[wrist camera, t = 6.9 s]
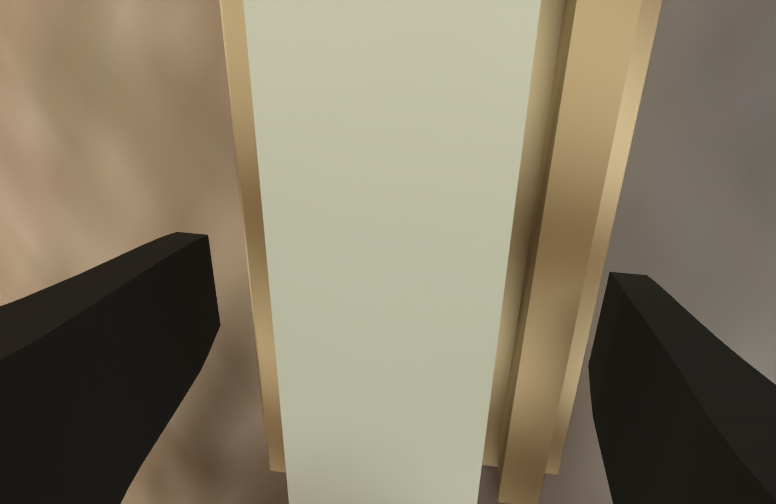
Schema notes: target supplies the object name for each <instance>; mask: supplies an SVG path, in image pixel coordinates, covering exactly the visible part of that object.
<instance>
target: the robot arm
mask: <svg viewBox="0 0 776 504" xmlns="http://www.w3.org/2000/svg"><path fill="white" fill-rule="evenodd" d="M219 327H220V319H219V312H218V305H217V297H216V290H215V283H214V275H213V268H212V261H211V254H210V246H209V239H208V235H204V234H193V233H182V232H175V233H172V234H169V235H166V236H163V237H161V238H158V239H156V240H154V241H151V242H149V243H147V244H144V245H142V246H140V247H138V248H135V249H133V250H131V251H129V252H127V253H124V254H122V255H120V256H118V257H116V258H114V259H111V260H109V261H107V262H105V263H103V264H100V265H98V266H96V267H94V268H92V269H90V270H87V271H85V272H83V273H81V274H79V275H76V276H74V277H72V278H69V279H67V280H64V281H62V282H60V283H57V284H55V285H53V286H50V287H48V288H45V289H43V290H41V291H38V292H36V293H34V294H31V295H29V296H26V297H24V298H21V299H19V300H16V301H14V302H11V303H8V304H6V305H3V306H0V504H121V502H122V500H123V498H124V496H125V494H126V491H127V490H128V488H129V486H130V484H131V482H132V481H133V479H134V477H135V475H136V474H137V472H138V470H139V468H140V467H141V465H142V463H143V462H144V460H145V459H146V457H147V455H148V454H149V452H150V451H151V449H152V448H153V446H154V444H155V443H156V441H157V440H158V438H159V437H160V435H161V433H162V432H163V430H164V429H165V427H166V425H167V424H168V422H169V421H170V419H171V418H172V416H173V414H174V413H175V411H176V410H177V408H178V406H179V405H180V403H181V402H182V400H183V398H184V397H185V395H186V394H187V392H188V390H189V389H190V387H191V385H192V384H193V382H194V381H195V379H196V377H197V376H198V374H199V372H200V371H201V369H202V367H203V364H204V362H205V360H206V358H207V356H208V354H209V351H210V349H211V347H212V344H213V342H214V339H215V337H216V335H217V332H218V330H219ZM588 367H589V379H590V392H591V402H592V412H593V419H594V423H595V428H596V432H597V437H598V441H599V445H600V450H601V454H602V458H603V462H604V467H605V471H606V475H607V479H608V483H609V488H610V492H611V496H612V500H613V504H776V385H775V384H774V383H773V382H771V381H770V380H769V379H768V378H766V377H765V376H764V375H762V374H761V373H760V372H759V371H757V370H756V369H755V368H753V367H752V366H751V365H750V364H748V363H747V362H746V361H744V360H743V359H742V358H741V357H740V356H738V355H737V354H736V353H735V352H734V351H732V350H731V349H730V348H729V347H728V346H726V345H725V344H724V343H723V342H722V341H721V340H719V339H718V338H717V337H716V336H715V335H714V334H713V333H711V332H710V331H709V330H708V329H707V328H706V327H705V326H703V325H702V324H701V323H700V322H699V321H698V320H697V319H696V318H695V317H693V316H692V315H691V314H690V313H689V312H688V311H687V310H686V309H685V308H684V307H683V306H681V305H680V304H679V303H678V302H677V301H676V300H675V299H674V298H673V297H672V296H670V295H669V294H668V293H667V292H666V291H665V290H664V289H663V288H662V287H661V286H659V285H658V284H657V283H656V282H655V281H654V280H652V279H651V278H650V277H648V276H647V275H638V274H627V273H616V272H610V273H609V277H608V282H607V286H606V291H605V295H604V299H603V304H602V308H601V313H600V317H599V321H598V326H597V330H596V335H595V339H594V343H593V348H592V352H591V357H590V361H589V365H588Z"/></svg>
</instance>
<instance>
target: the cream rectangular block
mask: <svg viewBox="0 0 776 504" xmlns="http://www.w3.org/2000/svg"><path fill="white" fill-rule="evenodd" d="M243 4H244V15H245V26H246V37H247V48H248V59H249V70H250V80H251V91H252V102H253V113H254V124H255V135H256V146H257V157H258V168H259V179H260V190H261V201H262V212H263V223H264V234H265V245H266V256H267V267H268V278H269V289H270V300H271V311H272V322H273V333H274V344H275V354H276V365H277V376H278V387H279V398H280V409H281V420H282V431H283V442H284V453H285V464H286V475H287V486H288V497H289V504H477V499H478V491H479V484H480V476H481V468H482V460H483V452H484V444H485V436H486V429H487V421H488V413H489V405H490V397H491V389H492V382H493V374H494V366H495V358H496V350H497V342H498V334H499V327H500V319H501V311H502V303H503V295H504V287H505V280H506V272H507V264H508V256H509V248H510V240H511V232H512V225H513V217H514V209H515V201H516V193H517V185H518V178H519V170H520V162H521V154H522V146H523V138H524V130H525V123H526V115H527V107H528V99H529V91H530V83H531V76H532V68H533V60H534V52H535V44H536V36H537V28H538V21H539V13H540V5H541V0H243Z"/></svg>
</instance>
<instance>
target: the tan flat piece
mask: <svg viewBox="0 0 776 504" xmlns="http://www.w3.org/2000/svg"><path fill="white" fill-rule="evenodd" d="M219 1H220V10H221V20H222V29H223V39H224V48H225V58H226V67H227V77H228V86H229V96H230V105H231V115H232V124H233V134H234V143H235V153H236V162H237V172H238V181H239V191H240V200H241V210H242V219H243V229H244V238H245V248H246V257H247V267H248V276H249V286H250V295H251V305H252V314H253V324H254V333H255V343H256V352H257V362H258V371H259V381H260V390H261V400H262V409H263V419H264V428H265V437H267V445H268V455H269V464H270V471H277V472H284V473H286V464H285V453H284V442H283V431H282V420H281V409H280V398H279V387H278V376H277V365H276V354H275V344H274V333H273V322H272V311H271V300H270V289H269V278H268V267H267V256H266V245H265V234H264V223H263V212H262V201H261V190H260V179H259V168H258V157H257V146H256V135H255V124H254V113H253V102H252V91H251V80H250V70H249V59H248V48H247V37H246V26H245V15H244V4H243V0H219ZM661 4H662V0H541V5H540V13H539V21H538V28H537V36H536V44H535V52H534V60H533V68H532V76H531V83H530V91H529V99H528V107H527V115H526V123H525V130H524V138H523V146H522V154H521V162H520V170H519V178H518V185H517V193H516V201H515V209H514V217H513V225H512V232H511V240H510V248H509V256H508V264H507V272H506V280H505V287H504V295H503V303H502V311H501V319H500V327H499V334H498V342H497V350H496V358H495V366H494V374H493V382H492V389H491V397H490V405H489V413H488V421H487V429H486V436H485V444H484V452H483V460H482V465H486V466H494V467H498V502H502V503H509V504H539V499H540V494H541V490H542V485H543V480H544V475H545V473H547V474H555V475H558V472H559V467H560V463H561V458H562V454H563V449H564V445H565V440H566V436H567V431H568V427H569V422H570V417H571V413H572V408H573V404H574V399H575V395H576V390H577V386H578V381H579V377H580V372H581V368H582V363H583V358H584V354H585V349H586V345H587V340H588V336H589V331H590V327H591V322H592V318H593V313H594V308H595V304H596V299H597V295H598V290H599V286H600V281H601V277H602V272H603V268H604V263H605V259H606V254H607V249H608V245H609V240H610V236H611V231H612V227H613V222H614V218H615V213H616V209H617V204H618V200H619V195H620V190H621V186H622V181H623V177H624V172H625V168H626V163H627V159H628V154H629V150H630V145H631V141H632V136H633V131H634V127H635V122H636V118H637V113H638V109H639V104H640V100H641V95H642V91H643V86H644V82H645V77H646V72H647V68H648V63H649V59H650V54H651V50H652V45H653V41H654V36H655V32H656V27H657V22H658V18H659V13H660V9H661Z"/></svg>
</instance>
